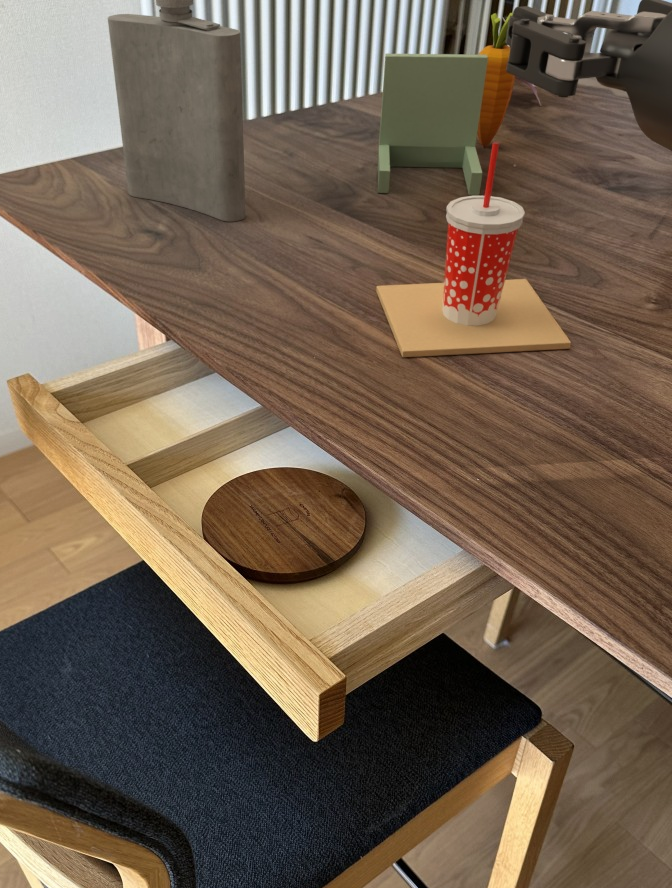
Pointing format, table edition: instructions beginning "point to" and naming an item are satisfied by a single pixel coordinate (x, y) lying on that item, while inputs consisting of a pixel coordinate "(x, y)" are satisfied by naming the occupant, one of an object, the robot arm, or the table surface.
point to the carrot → (495, 84)
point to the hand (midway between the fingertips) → (578, 21)
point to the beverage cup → (478, 253)
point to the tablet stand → (431, 114)
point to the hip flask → (181, 109)
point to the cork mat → (433, 334)
